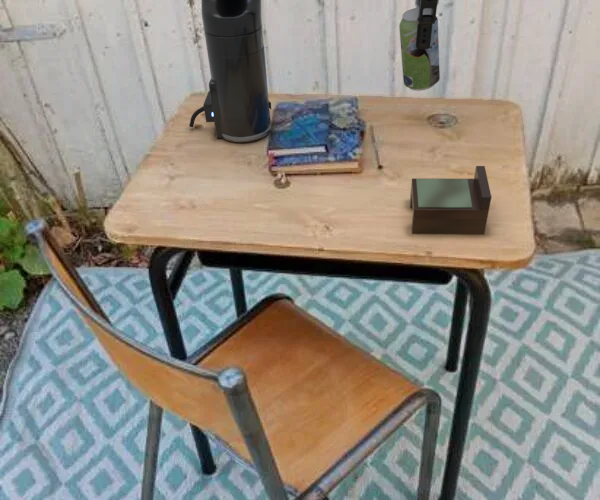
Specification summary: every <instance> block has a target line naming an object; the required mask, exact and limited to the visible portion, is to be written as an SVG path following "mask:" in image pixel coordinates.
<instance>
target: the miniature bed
mask: <svg viewBox="0 0 600 500" xmlns="http://www.w3.org/2000/svg"><path fill="white" fill-rule="evenodd" d="M488 179H489V178H488V175H487V170H486V166H485V165H476V166H475V171H474V177H473V178H411V185H410V194H409V195H410V196H409V208H410V209H412V216H411V234H412V235H485V232H486V227H487V223H488V218H489V211H490V207H491V201H492V193H491V188H490V183H489V180H488Z"/></svg>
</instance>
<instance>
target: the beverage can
mask: <svg viewBox="0 0 600 500" xmlns="http://www.w3.org/2000/svg"><path fill="white" fill-rule="evenodd" d="M423 15H431V8H425V9H424V10H423ZM417 18H418V8H416V7H414V8H411V9H408V10H406V11H405V12H404V13H402V16H401V20H400V22H399V27H398V28H399V40H400V54H401V67H402V79H403V81H402V82H403V85H404V86H405V87H406V88H409V90H412V91H417V92H420V91H426V90H430V89H431V88H433V87H434V86H435V85H436V84H437V83H439V82H440V79H441V76H440V73H441V72H440V46H439V21H438V20H439V19H438V17H437V16H436V21H435V24H432V33H431V42H430V48H429V49H417V48H416V37H417V26H418V24H417Z"/></svg>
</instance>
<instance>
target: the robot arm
mask: <svg viewBox="0 0 600 500" xmlns="http://www.w3.org/2000/svg"><path fill="white" fill-rule="evenodd" d="M200 1H201V2H200V4H201V18H202V27H203V31H204V39H205V45H206V46H205V47H206V51H207V59H208V66H209V73H210V79H209V81H208V89H209V90H208V92H207V95H206V97H205V100H204V101H203V106H202V107H199V108H198V109H196V110H195V111H194V112H193V113H192V115H191V117H190V120H189V124H188V125H189V127H190V128H194V125H195V121H196V118H197V117H198V116H199V115H200V114H201V113H203V112H204V117H205V123H214V129H215V137H216V138H217V139H223V140H225V141H228V142H233V143H250V142H251V143H252V142H255V141H258V140H260V139H263V138H265V137H267V136H268V135H269V134H270V133H271V131H272V127H273V126H272V119H271V110H272V103H271V101H270V99H269V88H268V87H269V86H268V74H267V63H266V62H267V61H266V52H265V41H264V28H263V17H262V15H263V13H262V0H200ZM439 2H440V0H414V5H415V7H414V8H418V18H417V24H418V26H417V37H416V48H417V49H429V48H430V42H431V33H432V24H435V21H436V17H437V9H438V5H439ZM425 8H431V15H423V10H424V9H425Z"/></svg>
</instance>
